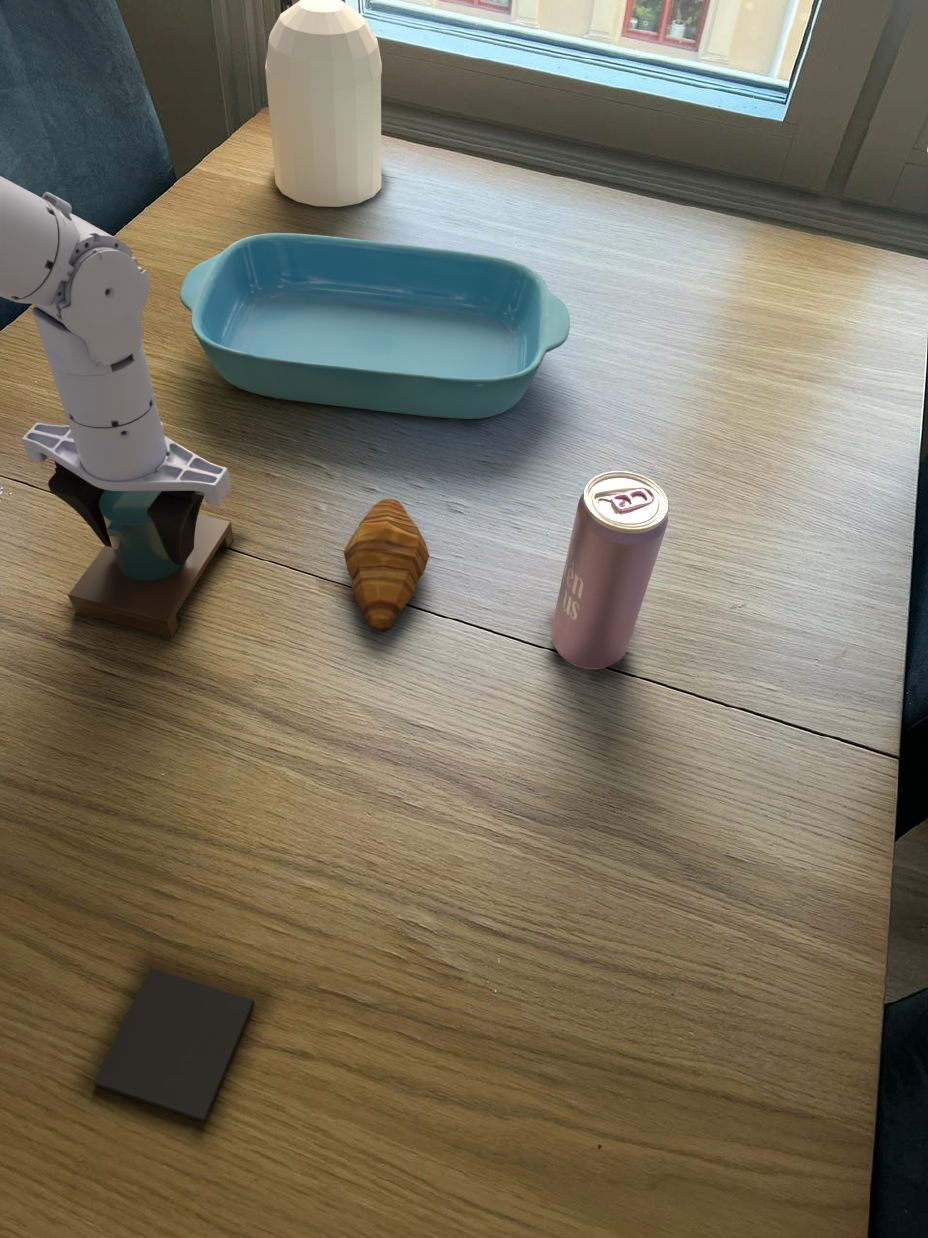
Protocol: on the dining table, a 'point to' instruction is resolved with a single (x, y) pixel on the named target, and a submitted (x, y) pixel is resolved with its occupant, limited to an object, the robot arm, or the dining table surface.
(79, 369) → the robot arm
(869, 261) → the dining table surface
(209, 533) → the plate
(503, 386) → the casserole dish
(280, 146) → the container
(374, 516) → the croissant
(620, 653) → the beverage can
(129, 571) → the teal tabbed cylinder
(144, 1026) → the coaster
